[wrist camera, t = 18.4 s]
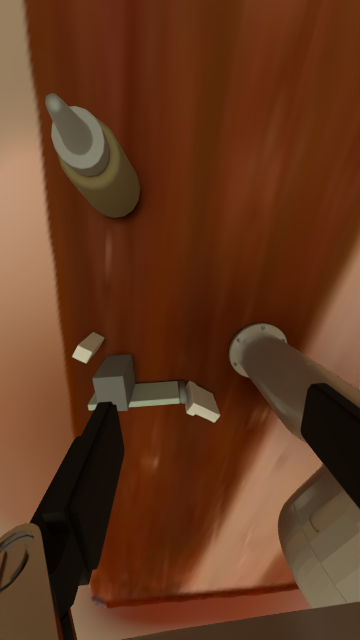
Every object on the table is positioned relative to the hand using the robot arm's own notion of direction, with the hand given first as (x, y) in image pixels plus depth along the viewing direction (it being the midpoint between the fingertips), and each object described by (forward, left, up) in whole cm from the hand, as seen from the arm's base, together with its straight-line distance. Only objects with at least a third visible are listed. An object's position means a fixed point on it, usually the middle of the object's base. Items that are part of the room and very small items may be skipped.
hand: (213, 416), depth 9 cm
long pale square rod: (-3, +20, -28) cm, 35 cm away
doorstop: (+3, +19, -28) cm, 34 cm away
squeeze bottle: (+18, -10, -28) cm, 35 cm away
